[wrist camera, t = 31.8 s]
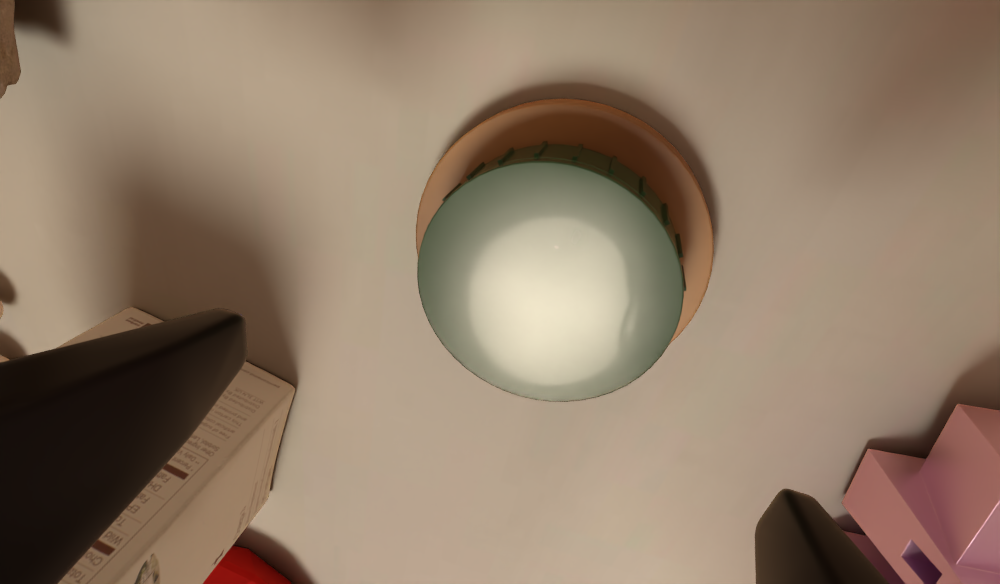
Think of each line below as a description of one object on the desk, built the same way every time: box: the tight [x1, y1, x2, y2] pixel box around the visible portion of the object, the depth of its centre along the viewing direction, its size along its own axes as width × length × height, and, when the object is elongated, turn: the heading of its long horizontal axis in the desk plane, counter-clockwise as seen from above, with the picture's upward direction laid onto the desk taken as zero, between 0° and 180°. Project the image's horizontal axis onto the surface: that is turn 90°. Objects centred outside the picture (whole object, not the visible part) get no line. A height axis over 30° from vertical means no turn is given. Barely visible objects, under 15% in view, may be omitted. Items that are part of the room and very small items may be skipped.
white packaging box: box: [57, 307, 295, 584], centre depth 16 cm, size 7×7×13 cm
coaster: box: [416, 98, 714, 343], centre depth 15 cm, size 8×8×1 cm
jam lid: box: [418, 141, 686, 402], centre depth 14 cm, size 7×7×2 cm
